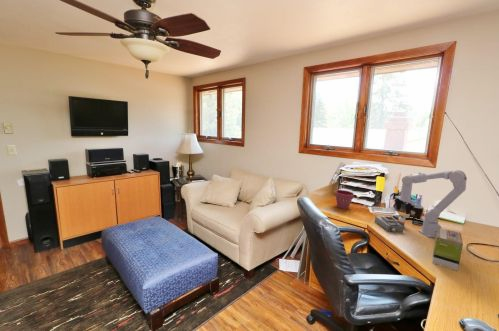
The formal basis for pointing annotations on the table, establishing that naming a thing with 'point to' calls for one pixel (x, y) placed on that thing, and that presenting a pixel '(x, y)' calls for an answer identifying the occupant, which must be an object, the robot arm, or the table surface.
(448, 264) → the tea box
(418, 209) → the coffee mug
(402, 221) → the spout can
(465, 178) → the robot arm
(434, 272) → the table surface
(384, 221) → the gearbox
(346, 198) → the plant pot
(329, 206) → the table surface
